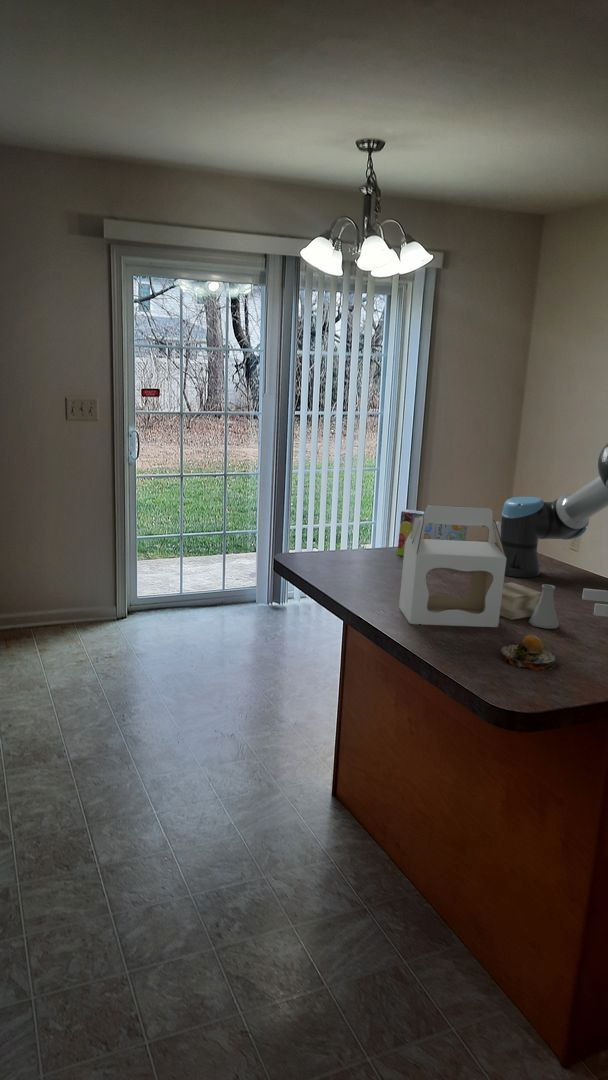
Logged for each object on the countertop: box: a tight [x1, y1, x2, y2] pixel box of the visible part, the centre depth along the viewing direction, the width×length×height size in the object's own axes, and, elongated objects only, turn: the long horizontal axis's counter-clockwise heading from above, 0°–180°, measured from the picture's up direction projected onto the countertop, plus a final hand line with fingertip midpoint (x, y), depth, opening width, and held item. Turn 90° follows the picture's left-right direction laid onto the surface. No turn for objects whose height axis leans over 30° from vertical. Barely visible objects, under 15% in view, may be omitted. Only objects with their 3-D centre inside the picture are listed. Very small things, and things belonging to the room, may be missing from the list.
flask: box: [528, 583, 559, 630], centre depth 190 cm, size 7×7×10 cm
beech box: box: [499, 582, 542, 620], centre depth 200 cm, size 10×10×6 cm
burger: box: [498, 634, 557, 671], centre depth 165 cm, size 12×12×8 cm
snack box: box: [396, 509, 468, 557], centre depth 252 cm, size 21×6×15 cm, turn 65°
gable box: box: [398, 504, 507, 628], centre depth 189 cm, size 22×13×28 cm, turn 95°
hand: (588, 601), depth 189 cm, fingers open, 13 cm apart
